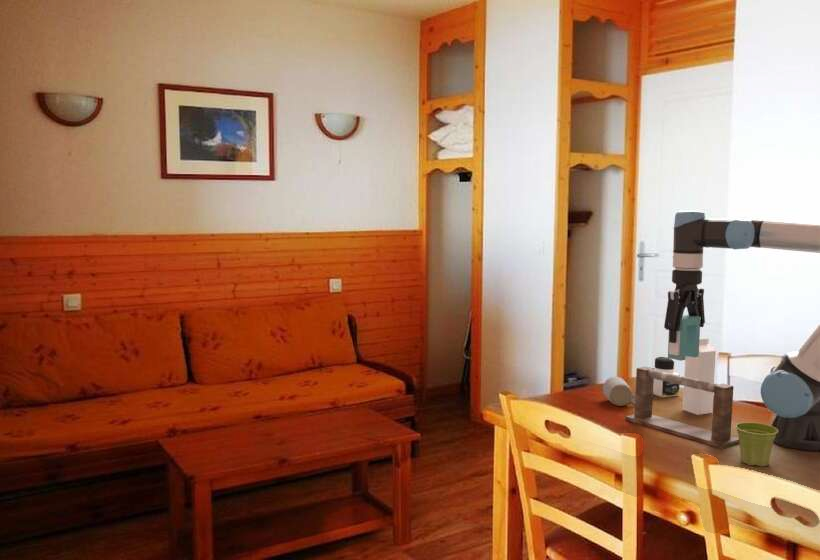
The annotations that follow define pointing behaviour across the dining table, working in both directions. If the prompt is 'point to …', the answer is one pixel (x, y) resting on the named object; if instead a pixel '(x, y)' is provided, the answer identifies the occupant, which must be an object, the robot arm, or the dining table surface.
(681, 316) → the robot arm
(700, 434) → the hanger stand
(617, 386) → the ceramic mug
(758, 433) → the plant pot
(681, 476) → the dining table surface
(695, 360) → the milk
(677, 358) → the teal block
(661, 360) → the medicine bottle
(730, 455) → the dining table surface
